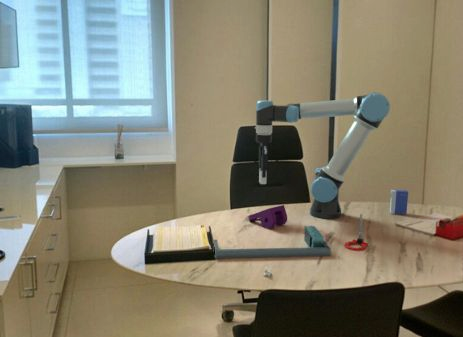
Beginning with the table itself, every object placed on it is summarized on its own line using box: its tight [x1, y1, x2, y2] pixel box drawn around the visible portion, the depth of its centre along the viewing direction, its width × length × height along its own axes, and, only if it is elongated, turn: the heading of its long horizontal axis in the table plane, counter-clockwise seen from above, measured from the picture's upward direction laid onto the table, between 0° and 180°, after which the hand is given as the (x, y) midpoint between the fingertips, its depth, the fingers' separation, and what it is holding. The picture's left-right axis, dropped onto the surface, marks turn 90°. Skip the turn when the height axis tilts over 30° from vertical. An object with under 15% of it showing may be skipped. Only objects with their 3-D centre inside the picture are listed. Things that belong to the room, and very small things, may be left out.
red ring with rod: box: [343, 213, 369, 252], centre depth 192 cm, size 8×13×9 cm
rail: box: [212, 225, 331, 260], centre depth 192 cm, size 44×24×6 cm, turn 95°
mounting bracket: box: [247, 204, 288, 230], centre depth 222 cm, size 10×8×18 cm
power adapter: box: [263, 266, 272, 277], centre depth 164 cm, size 3×3×3 cm
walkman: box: [389, 189, 409, 215], centre depth 241 cm, size 8×3×12 cm, turn 88°
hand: (262, 182), depth 230 cm, fingers open, 3 cm apart
